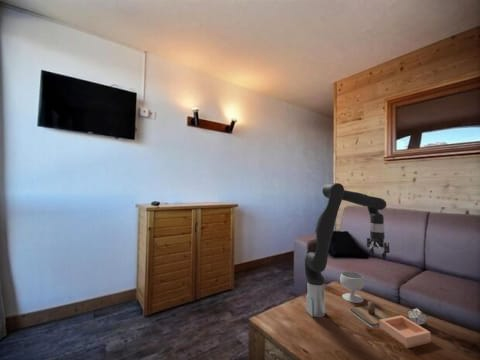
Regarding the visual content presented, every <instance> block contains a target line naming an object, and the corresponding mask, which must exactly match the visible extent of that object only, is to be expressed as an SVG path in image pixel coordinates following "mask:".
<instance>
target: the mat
mask: <svg viewBox="0 0 480 360" xmlns="http://www.w3.org/2000/svg"><path fill="white" fill-rule="evenodd" d="M350 309H351V308H349V309H347V311H348V312H349V313H351V314H352V315H354V316H355V317H356V318H357V319H359V320H360V321H361V322H363V323H364V324H366V325H367V326H368V327H370V328H377V327H380V324H379V325H375V326H371V325H369V324H368V323H367V322H365V321H364V320H362V319H361V318H360V317H358V316H357V315H356V314H354V313H353V312H352V311H350Z"/></svg>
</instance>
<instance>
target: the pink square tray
mask: <svg viewBox="0 0 480 360" xmlns="http://www.w3.org/2000/svg"><path fill="white" fill-rule="evenodd" d="M379 324H380V326H379V330H381V331H383V332H384V333H386V334H387V335H388V336H390V337H391V338H392V339H394V340H396V341H397V343H399V344H401V345H402V346H403V347H404V348H406V349H410V348H414V347H418V346H422V345H425V344H429V343H432V337H431V336H432V334H431V331H429V330H428V329H426V328H424V327H423V326H421V325H417V324H416V323H414V322H412V321H411V320H410V319H409V318H407V317H406V316H404V315H396V316H390V318H385V319H380V320H379Z"/></svg>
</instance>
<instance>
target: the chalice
mask: <svg viewBox="0 0 480 360" xmlns="http://www.w3.org/2000/svg"><path fill="white" fill-rule="evenodd" d="M339 277H340V278H339V281H340V284H341V285H342V286H343V287H344V288H346V289H347V290H348V291H349V292H348V293H343V294H342V295H341V297H342V299H343V300H345V301H347V302H348V303H349V302H350V303H353V304H361V303H363V302H364V298H363V297H362V296H360V295H359V294H357V293H356V294H355V292H356V291H360V290H361V289H362V290H363V288H364V287H365V280H364V277H363V276H362V274H360V273H359V272H355V271H349V270H348V271H342V272H341V274H340V276H339Z"/></svg>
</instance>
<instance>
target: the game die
mask: <svg viewBox="0 0 480 360" xmlns="http://www.w3.org/2000/svg"><path fill="white" fill-rule="evenodd" d="M409 309H410V310H409ZM409 309H407V312H408V316H406V318H407V319H409V320H410V321H412V322H414V323H416V324H417V325H419V326H421V325H425V324H426V325H428V322H427V317H429V316H428V315H426V314H425V313H424V311H421V310H420V309H419V307H418V306H416V308H413V309H412V308H409Z"/></svg>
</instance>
